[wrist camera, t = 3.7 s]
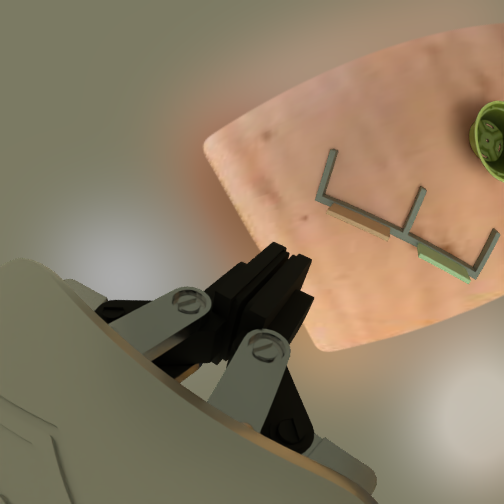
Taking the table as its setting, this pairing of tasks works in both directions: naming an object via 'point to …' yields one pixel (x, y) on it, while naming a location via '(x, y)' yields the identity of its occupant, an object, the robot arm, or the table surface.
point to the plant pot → (490, 138)
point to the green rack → (402, 230)
